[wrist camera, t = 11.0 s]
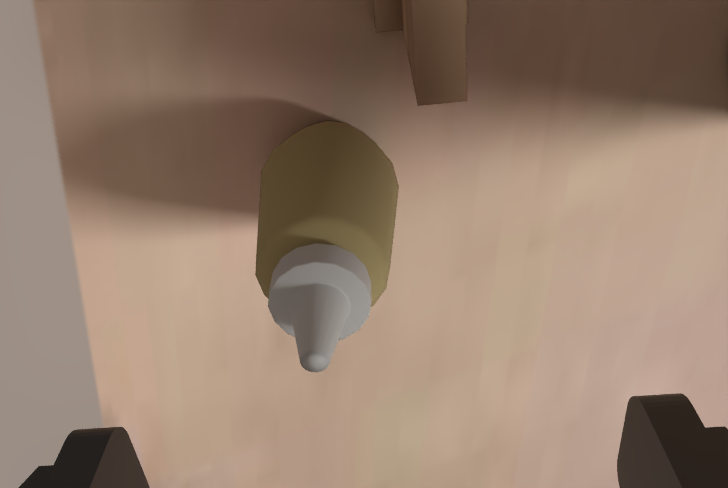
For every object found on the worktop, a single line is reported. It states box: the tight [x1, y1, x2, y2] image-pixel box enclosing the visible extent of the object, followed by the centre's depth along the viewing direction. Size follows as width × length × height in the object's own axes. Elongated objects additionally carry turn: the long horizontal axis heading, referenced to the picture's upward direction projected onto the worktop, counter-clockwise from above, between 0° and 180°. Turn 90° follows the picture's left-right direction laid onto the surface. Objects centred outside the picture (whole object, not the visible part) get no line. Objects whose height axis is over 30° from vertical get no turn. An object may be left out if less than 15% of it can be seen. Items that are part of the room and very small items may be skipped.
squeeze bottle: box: [256, 121, 399, 372], centre depth 34 cm, size 8×8×18 cm
